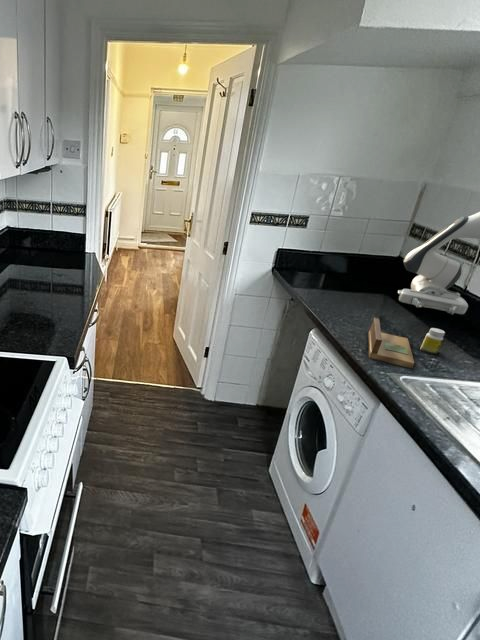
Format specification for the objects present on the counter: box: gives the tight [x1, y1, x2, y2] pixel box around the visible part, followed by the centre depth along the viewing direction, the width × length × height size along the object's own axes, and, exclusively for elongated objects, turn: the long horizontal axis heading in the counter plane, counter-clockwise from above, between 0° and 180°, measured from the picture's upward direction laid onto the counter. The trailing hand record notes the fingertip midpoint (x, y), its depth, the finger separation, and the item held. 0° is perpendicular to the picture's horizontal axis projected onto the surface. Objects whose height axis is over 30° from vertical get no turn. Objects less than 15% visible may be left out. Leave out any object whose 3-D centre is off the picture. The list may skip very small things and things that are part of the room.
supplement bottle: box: [419, 327, 446, 355], centre depth 141 cm, size 5×5×8 cm
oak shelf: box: [367, 317, 415, 369], centre depth 142 cm, size 12×22×7 cm, turn 150°
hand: (435, 308), depth 148 cm, fingers open, 8 cm apart
